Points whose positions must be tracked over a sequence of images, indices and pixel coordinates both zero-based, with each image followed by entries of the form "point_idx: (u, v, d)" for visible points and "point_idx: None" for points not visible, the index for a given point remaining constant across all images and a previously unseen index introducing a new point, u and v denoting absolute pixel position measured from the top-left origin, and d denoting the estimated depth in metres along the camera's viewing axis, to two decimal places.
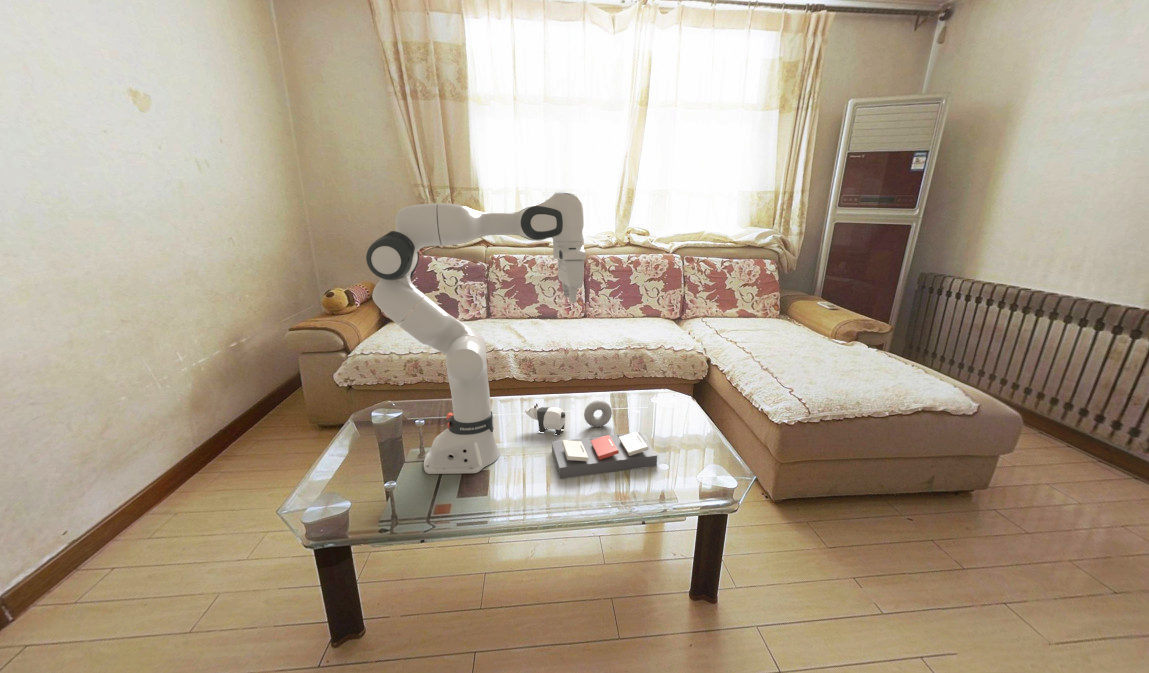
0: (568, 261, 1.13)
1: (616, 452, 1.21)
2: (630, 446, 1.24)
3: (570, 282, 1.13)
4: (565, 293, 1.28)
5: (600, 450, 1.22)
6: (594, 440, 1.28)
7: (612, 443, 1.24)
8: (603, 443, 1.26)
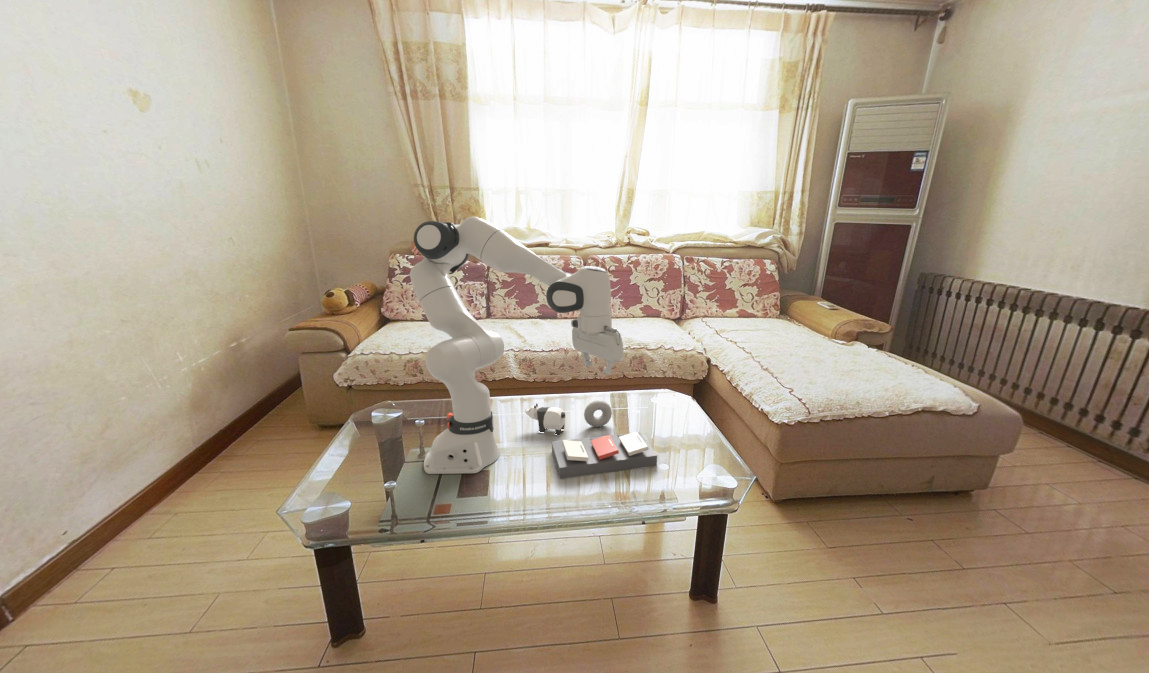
0: None
1: (616, 452, 1.21)
2: (630, 446, 1.24)
3: None
4: None
5: (600, 450, 1.22)
6: (594, 440, 1.28)
7: (612, 443, 1.24)
8: (603, 443, 1.26)
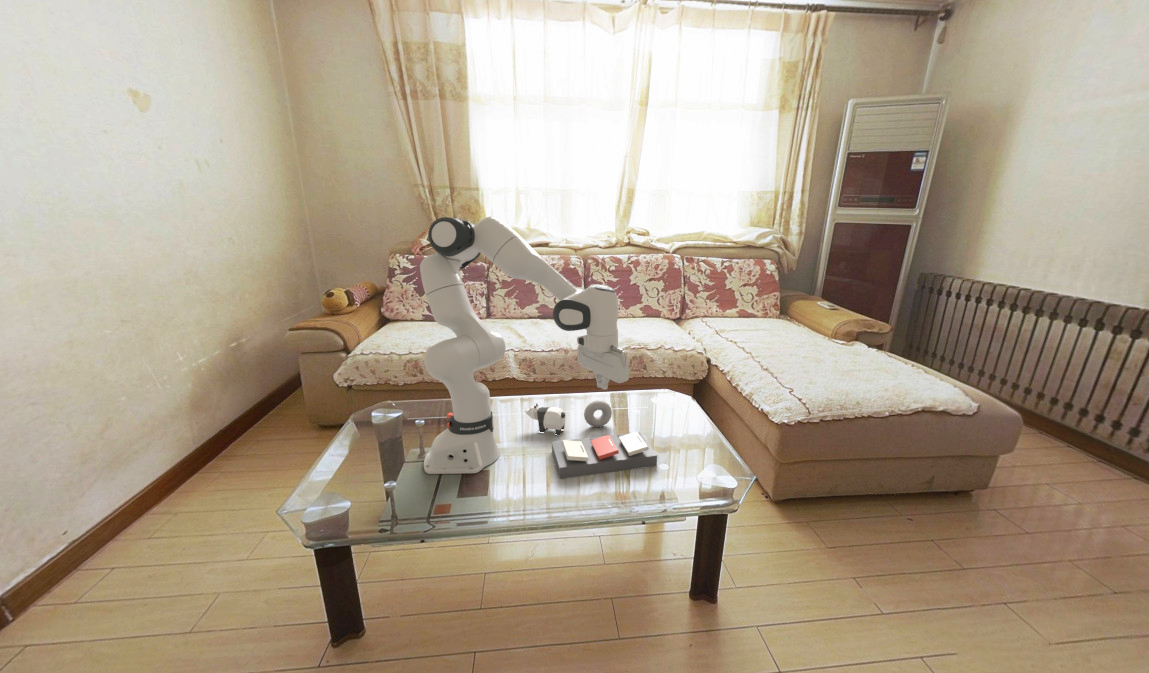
0: None
1: (616, 452, 1.21)
2: (630, 446, 1.24)
3: None
4: None
5: (600, 450, 1.22)
6: (594, 440, 1.28)
7: (612, 443, 1.24)
8: (603, 443, 1.26)
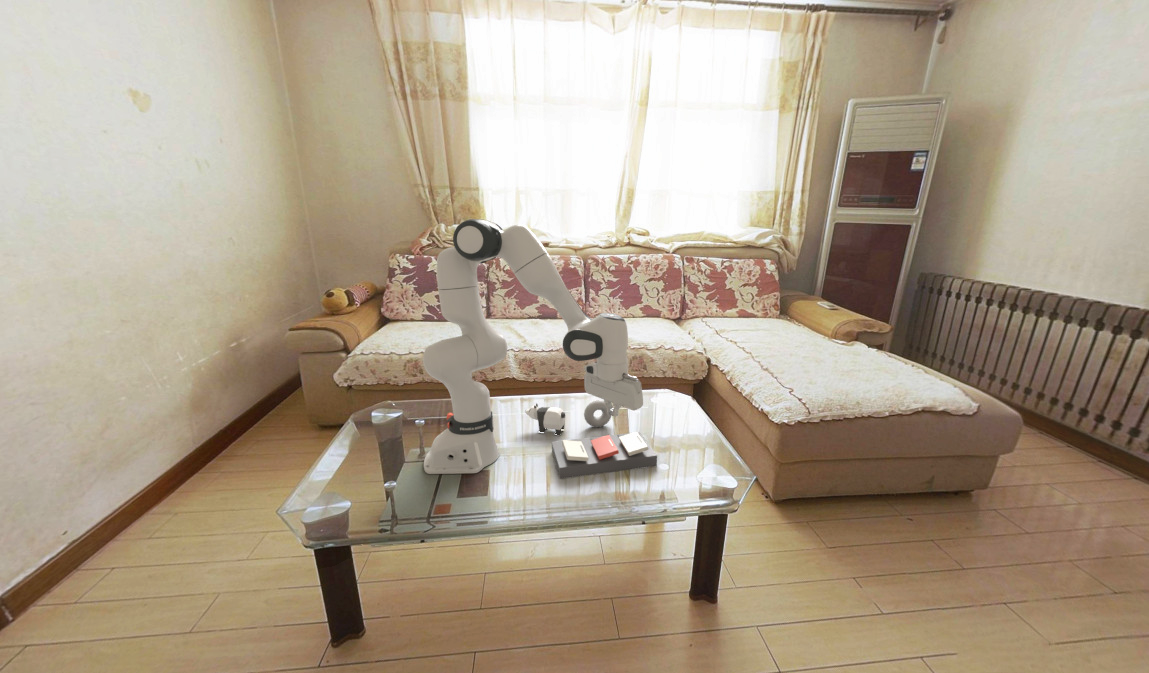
0: None
1: (616, 452, 1.21)
2: (630, 446, 1.24)
3: None
4: None
5: (600, 450, 1.22)
6: (594, 440, 1.28)
7: (612, 443, 1.24)
8: (603, 443, 1.26)
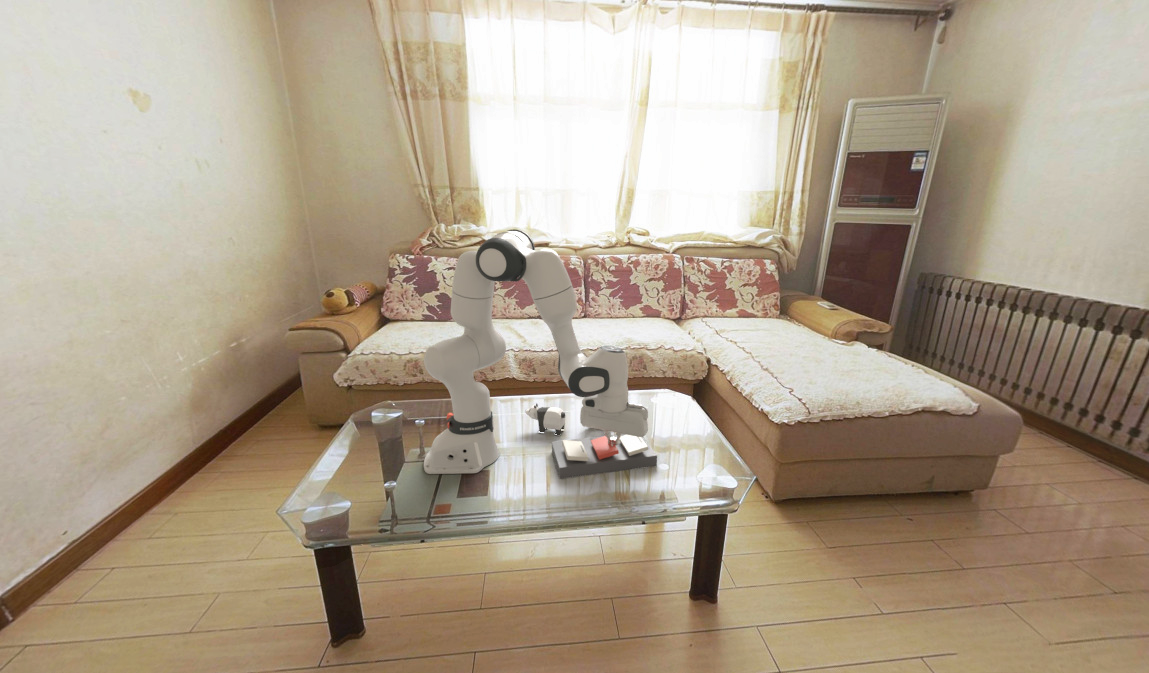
0: None
1: (616, 452, 1.21)
2: (630, 446, 1.24)
3: None
4: None
5: (600, 450, 1.22)
6: (594, 440, 1.28)
7: None
8: (603, 443, 1.26)
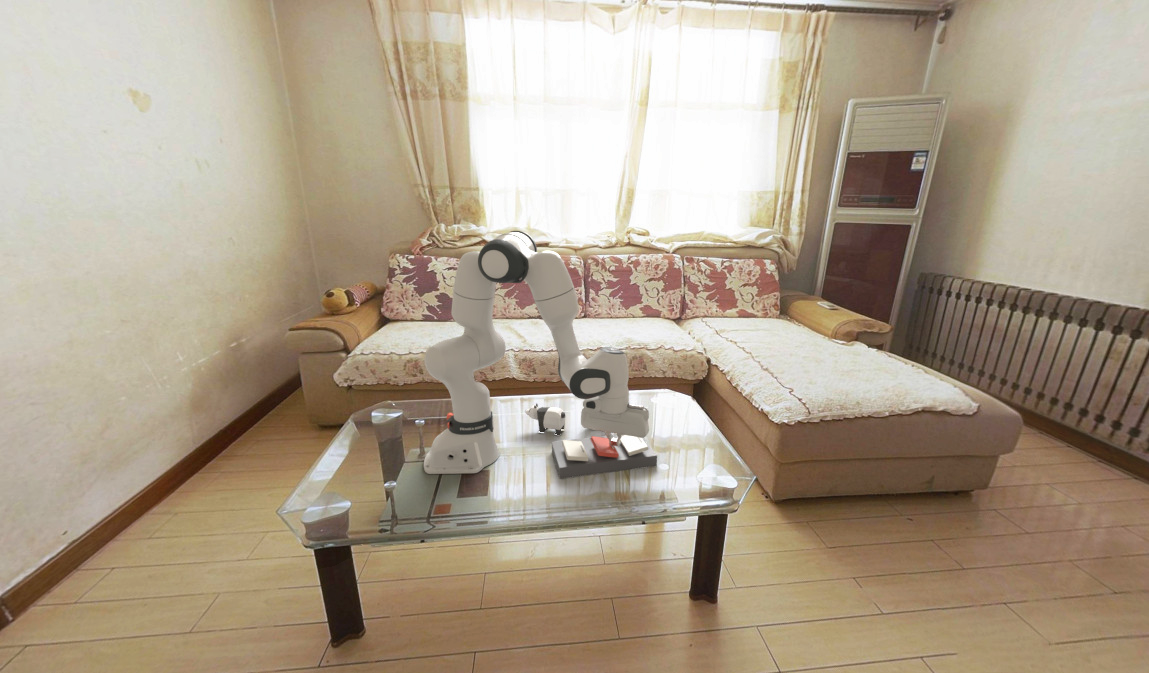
0: None
1: (616, 455, 1.21)
2: (630, 446, 1.24)
3: None
4: None
5: (601, 448, 1.22)
6: (595, 437, 1.28)
7: (613, 446, 1.25)
8: (604, 443, 1.26)
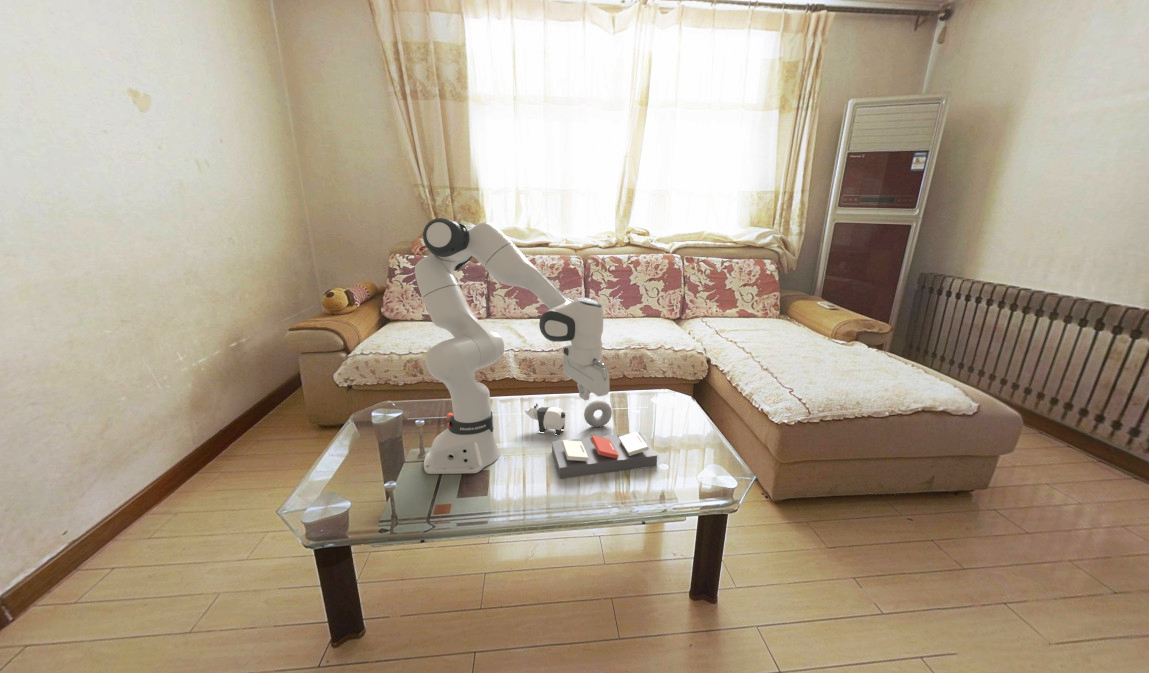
0: None
1: (616, 456, 1.21)
2: (630, 446, 1.24)
3: None
4: None
5: (601, 447, 1.22)
6: (595, 437, 1.28)
7: (613, 447, 1.25)
8: (604, 443, 1.26)
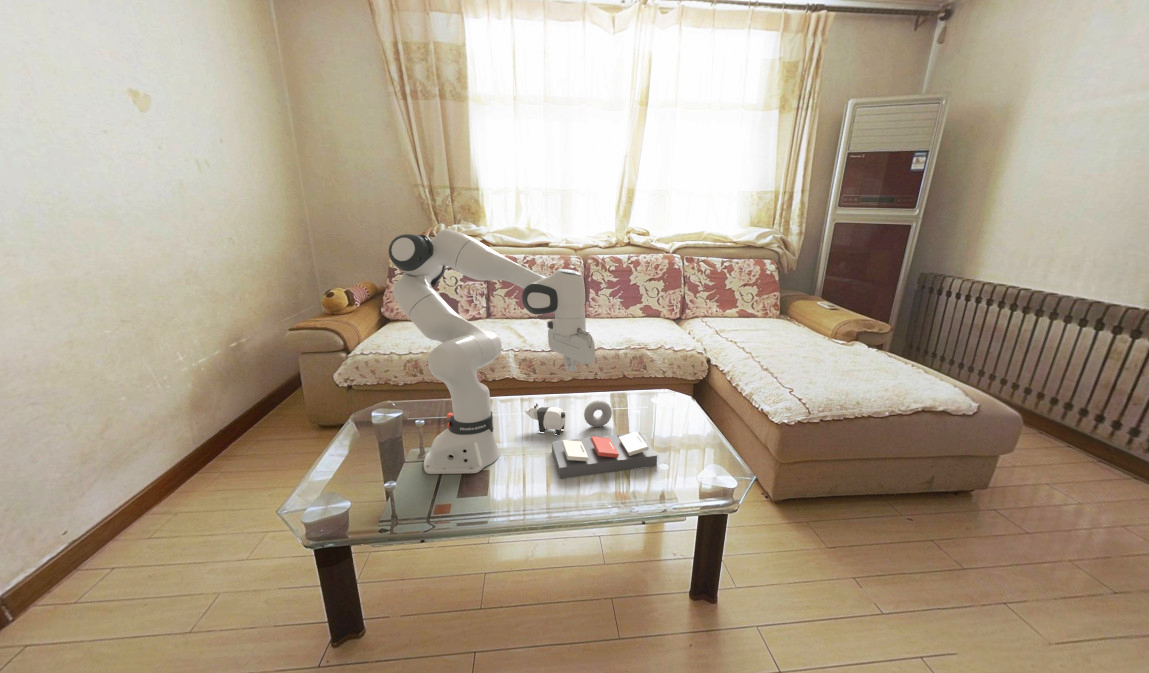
0: None
1: (616, 455, 1.21)
2: (630, 446, 1.24)
3: None
4: None
5: (601, 448, 1.22)
6: (595, 437, 1.28)
7: (613, 446, 1.25)
8: (604, 443, 1.26)
